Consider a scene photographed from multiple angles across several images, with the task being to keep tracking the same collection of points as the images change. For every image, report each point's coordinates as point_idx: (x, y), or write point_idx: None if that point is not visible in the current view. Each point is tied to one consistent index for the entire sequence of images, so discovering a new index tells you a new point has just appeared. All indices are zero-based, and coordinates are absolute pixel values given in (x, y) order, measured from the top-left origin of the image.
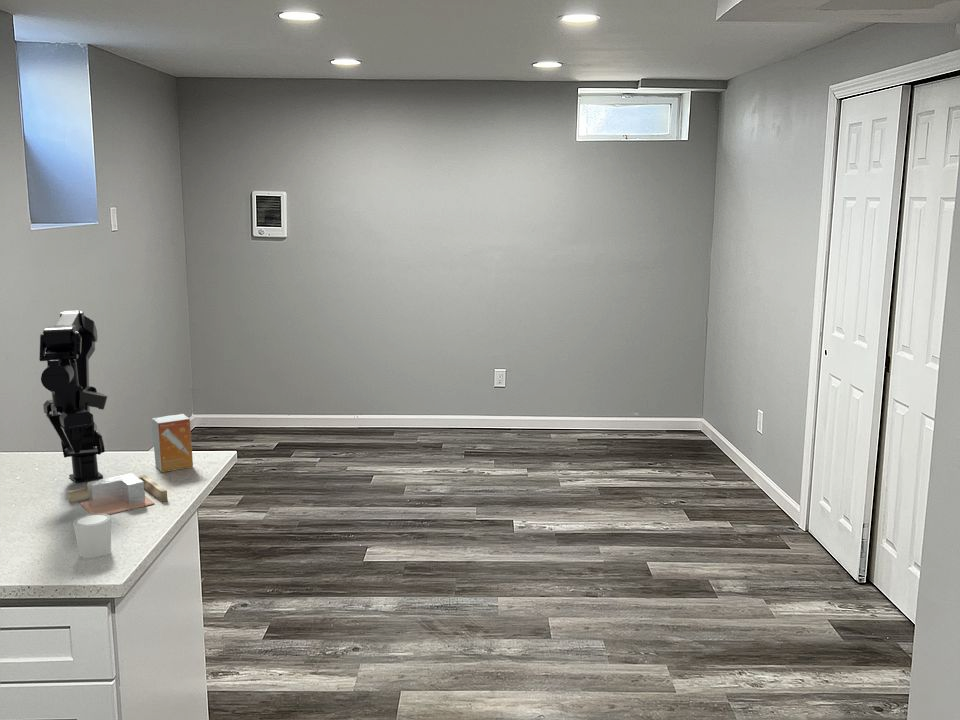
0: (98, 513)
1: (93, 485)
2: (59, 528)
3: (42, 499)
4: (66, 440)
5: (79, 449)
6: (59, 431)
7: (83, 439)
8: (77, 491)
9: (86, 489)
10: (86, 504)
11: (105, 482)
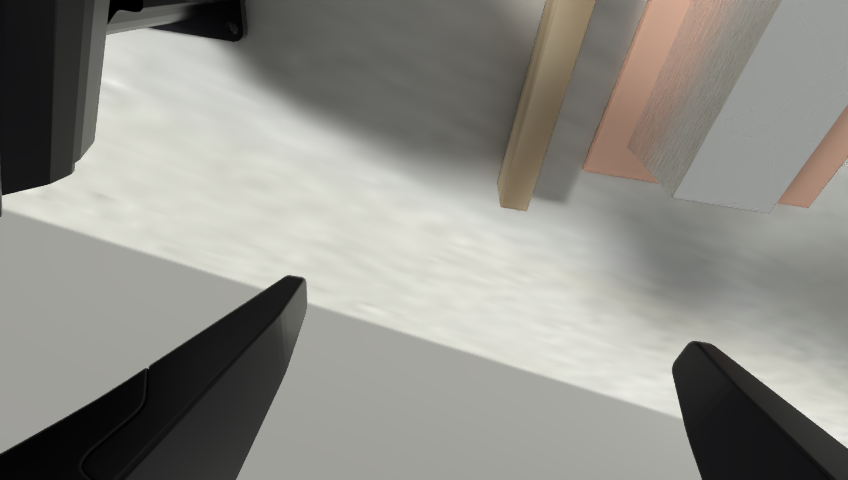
0: (793, 180)
1: (769, 200)
2: (740, 318)
3: (382, 235)
4: (293, 313)
5: (734, 370)
6: (241, 453)
7: (53, 7)
8: (536, 174)
9: (550, 131)
10: (627, 161)
11: (809, 122)
